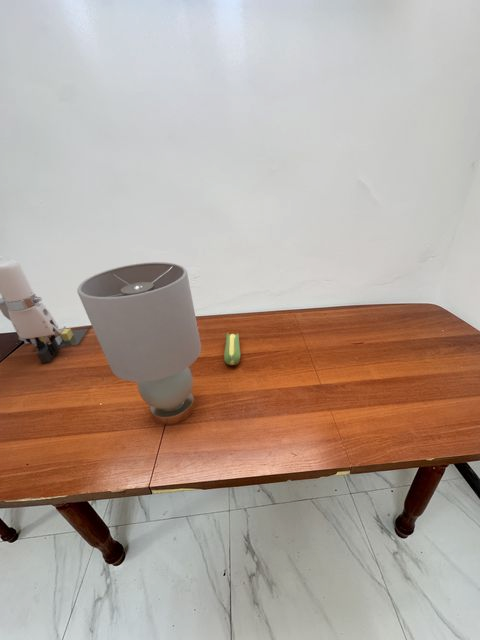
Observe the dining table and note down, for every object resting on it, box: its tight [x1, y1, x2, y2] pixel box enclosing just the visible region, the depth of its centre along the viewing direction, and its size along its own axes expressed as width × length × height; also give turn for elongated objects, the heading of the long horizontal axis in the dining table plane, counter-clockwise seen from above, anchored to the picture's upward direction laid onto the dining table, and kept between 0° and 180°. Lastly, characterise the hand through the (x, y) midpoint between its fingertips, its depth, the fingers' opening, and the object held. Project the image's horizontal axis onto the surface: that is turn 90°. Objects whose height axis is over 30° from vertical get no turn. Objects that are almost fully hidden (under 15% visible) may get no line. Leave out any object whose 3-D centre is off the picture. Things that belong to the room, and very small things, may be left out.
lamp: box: [76, 261, 202, 426], centre depth 67 cm, size 20×20×35 cm
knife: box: [36, 326, 67, 364], centre depth 102 cm, size 2×20×4 cm, turn 11°
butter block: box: [39, 328, 63, 344], centre depth 107 cm, size 6×4×3 cm, turn 100°
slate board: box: [35, 328, 89, 351], centre depth 109 cm, size 14×12×2 cm
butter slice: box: [61, 327, 73, 341], centre depth 108 cm, size 2×4×3 cm, turn 11°
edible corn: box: [223, 331, 241, 366], centre depth 96 cm, size 5×20×5 cm, turn 4°
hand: (50, 353), depth 98 cm, fingers closed on knife, 2 cm apart
